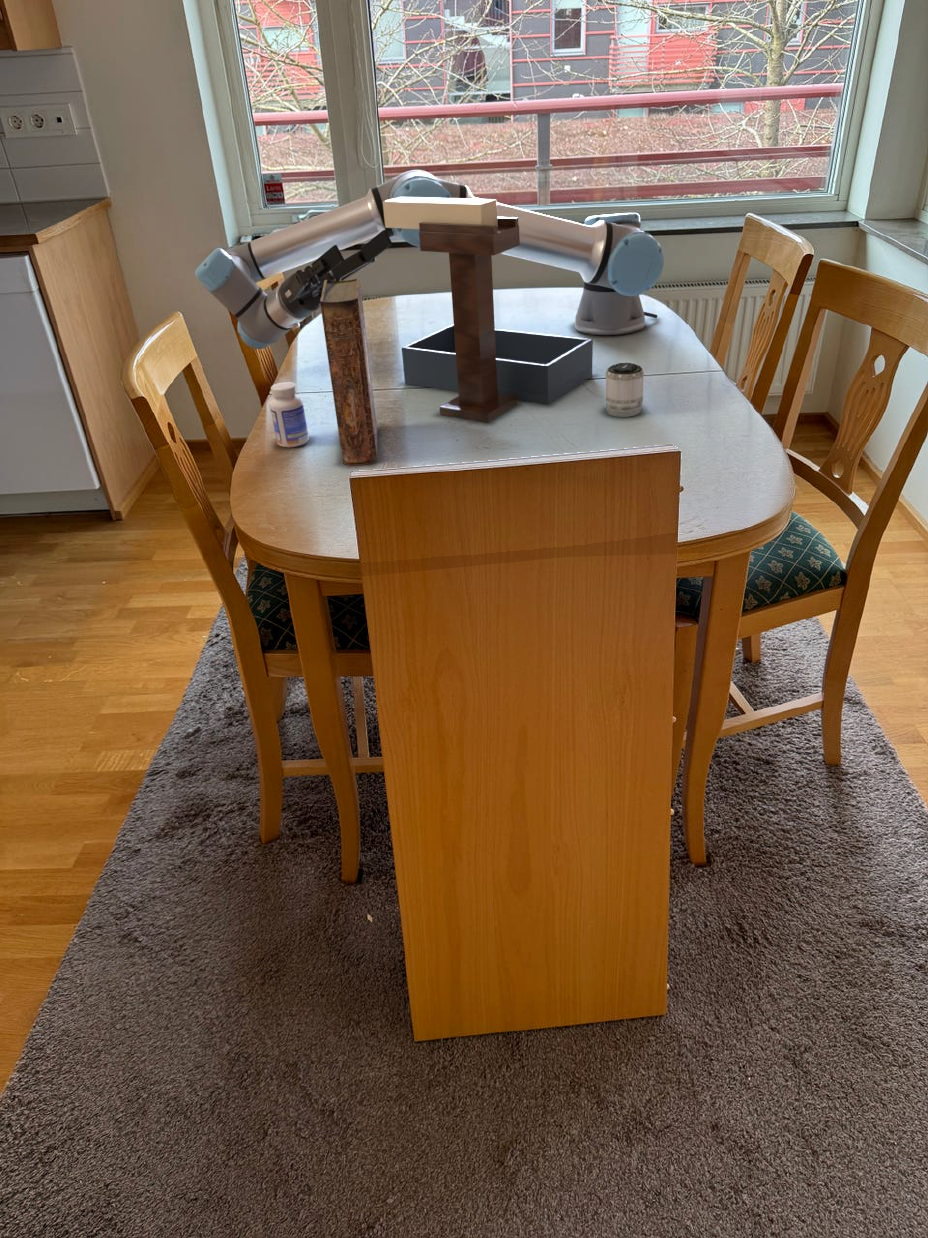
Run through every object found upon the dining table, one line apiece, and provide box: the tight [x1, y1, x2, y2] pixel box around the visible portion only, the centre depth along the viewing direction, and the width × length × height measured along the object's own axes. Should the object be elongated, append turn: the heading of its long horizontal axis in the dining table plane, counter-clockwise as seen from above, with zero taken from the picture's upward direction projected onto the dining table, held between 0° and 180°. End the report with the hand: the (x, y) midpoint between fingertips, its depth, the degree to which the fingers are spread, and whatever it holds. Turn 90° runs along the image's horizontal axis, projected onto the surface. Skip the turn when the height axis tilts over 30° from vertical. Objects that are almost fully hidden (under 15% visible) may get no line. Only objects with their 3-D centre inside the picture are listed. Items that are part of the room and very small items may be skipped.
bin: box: [401, 323, 594, 406], centre depth 173 cm, size 32×18×7 cm, turn 57°
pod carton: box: [383, 197, 498, 229], centre depth 147 cm, size 19×5×4 cm, turn 57°
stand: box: [419, 217, 520, 424], centre depth 153 cm, size 14×10×31 cm
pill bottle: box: [269, 381, 310, 448], centre depth 152 cm, size 5×5×10 cm
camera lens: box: [605, 362, 645, 418], centre depth 154 cm, size 6×6×8 cm
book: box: [320, 276, 378, 466], centre depth 144 cm, size 16×6×25 cm, turn 5°
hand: (364, 244), depth 158 cm, fingers open, 13 cm apart
